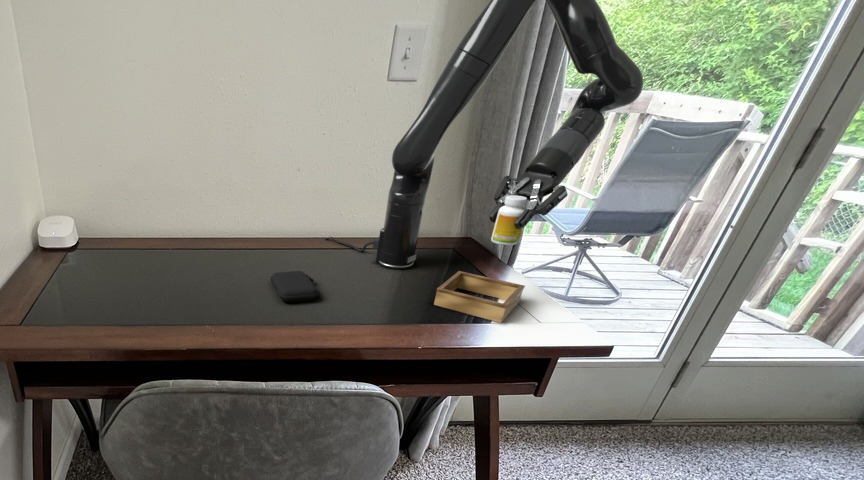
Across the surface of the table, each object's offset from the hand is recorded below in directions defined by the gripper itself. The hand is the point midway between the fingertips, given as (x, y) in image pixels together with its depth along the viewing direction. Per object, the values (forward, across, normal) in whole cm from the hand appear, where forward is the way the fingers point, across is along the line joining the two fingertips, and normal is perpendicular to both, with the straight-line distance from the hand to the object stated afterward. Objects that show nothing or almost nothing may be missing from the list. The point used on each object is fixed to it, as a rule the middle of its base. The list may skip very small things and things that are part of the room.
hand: (504, 223), depth 103 cm
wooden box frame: (+15, +1, +10) cm, 18 cm away
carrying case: (+38, -27, -12) cm, 48 cm away
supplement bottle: (+2, 0, +5) cm, 5 cm away
